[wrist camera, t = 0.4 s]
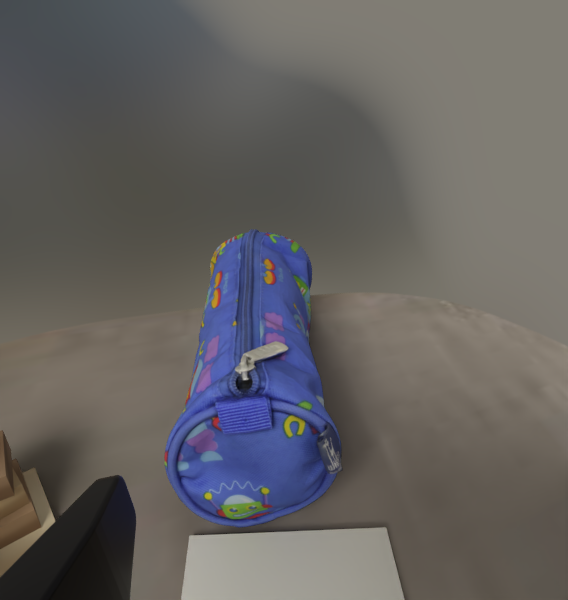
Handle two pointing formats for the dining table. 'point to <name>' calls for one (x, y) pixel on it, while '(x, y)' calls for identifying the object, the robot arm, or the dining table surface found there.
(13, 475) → the rack
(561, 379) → the dining table surface
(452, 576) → the dining table surface
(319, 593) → the felt pad
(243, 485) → the pencil case
